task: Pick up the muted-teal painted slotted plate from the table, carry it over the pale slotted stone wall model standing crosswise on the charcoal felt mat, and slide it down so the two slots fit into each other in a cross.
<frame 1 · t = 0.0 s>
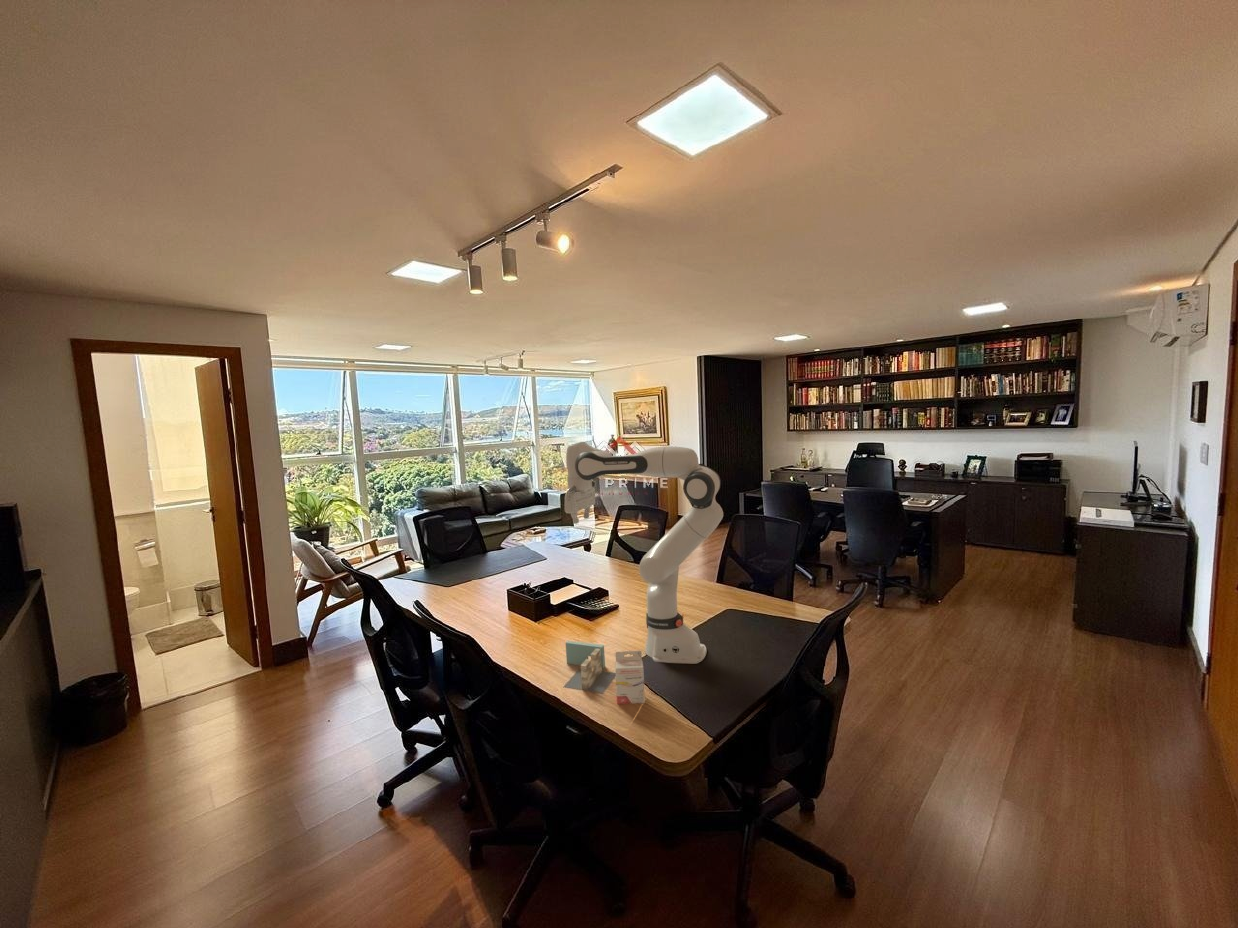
hand: (581, 520, 189), 48 cm above the table, fingers open, 8 cm apart
felt mat: (590, 681, 164), on the table
stone wall model: (592, 680, 163), resting on felt mat
teal plate: (585, 665, 174), on the table
ink cartridge box: (630, 701, 151), on the table
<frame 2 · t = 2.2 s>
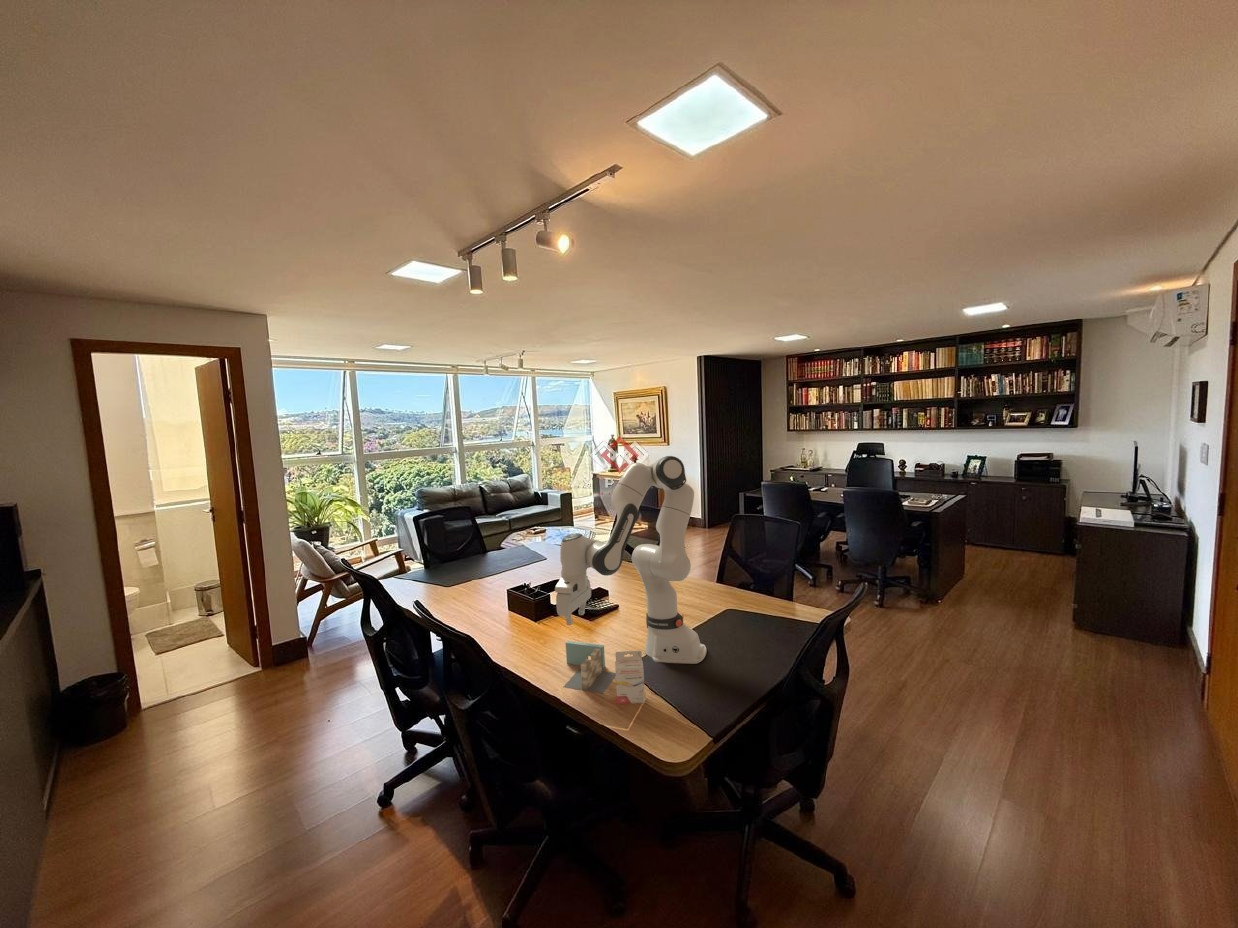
hand: (575, 619, 173), 17 cm above the table, fingers open, 8 cm apart
nothing on the table moved.
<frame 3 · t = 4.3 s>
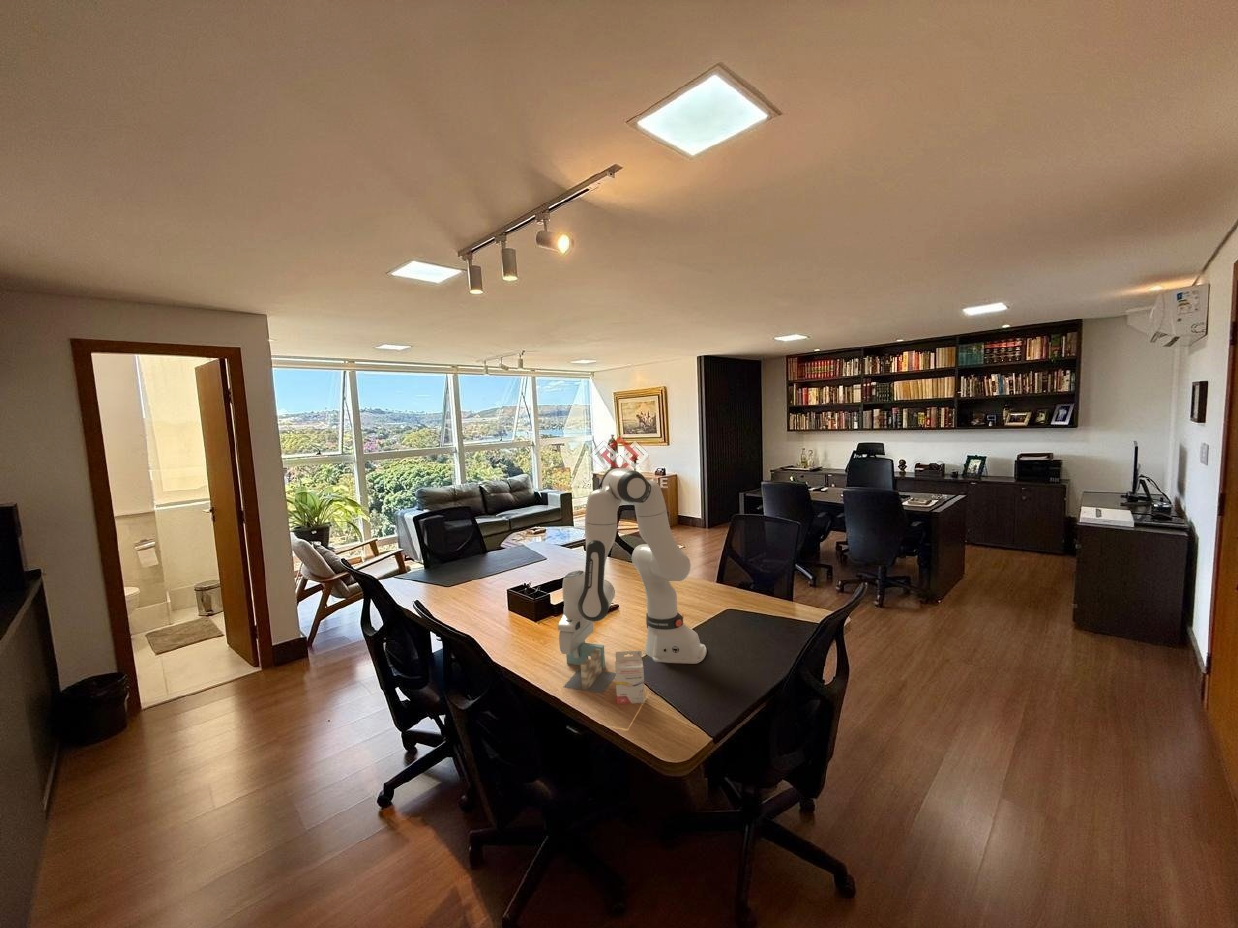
hand: (578, 655, 175), 4 cm above the table, fingers closed on teal plate, 2 cm apart
teal plate: (585, 665, 174), on the table, touching gripper
everything else where it was.
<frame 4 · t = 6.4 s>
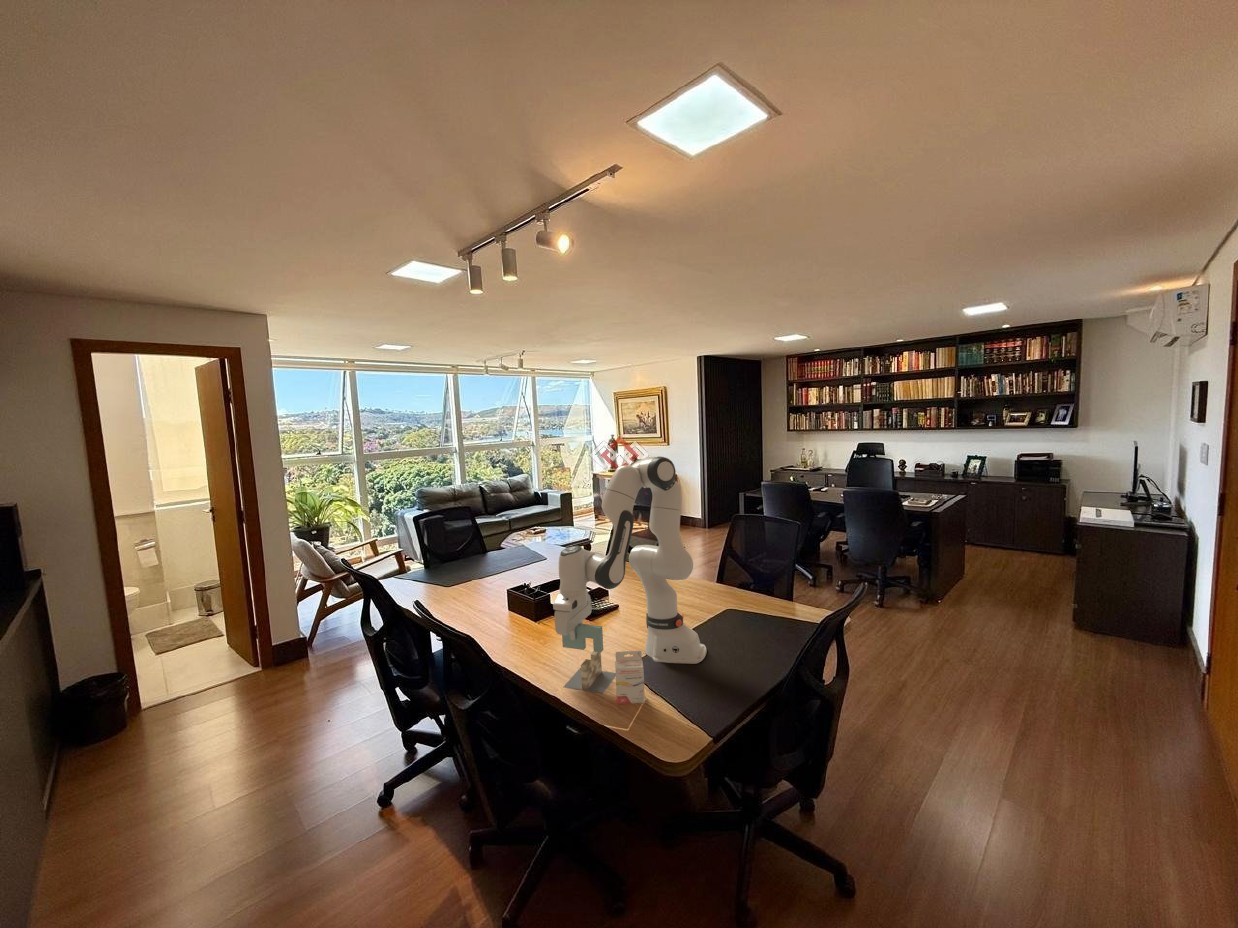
hand: (575, 637, 164), 15 cm above the table, fingers closed on teal plate
teal plate: (582, 648, 163), point 11 cm above the table, touching gripper
everything else where it was.
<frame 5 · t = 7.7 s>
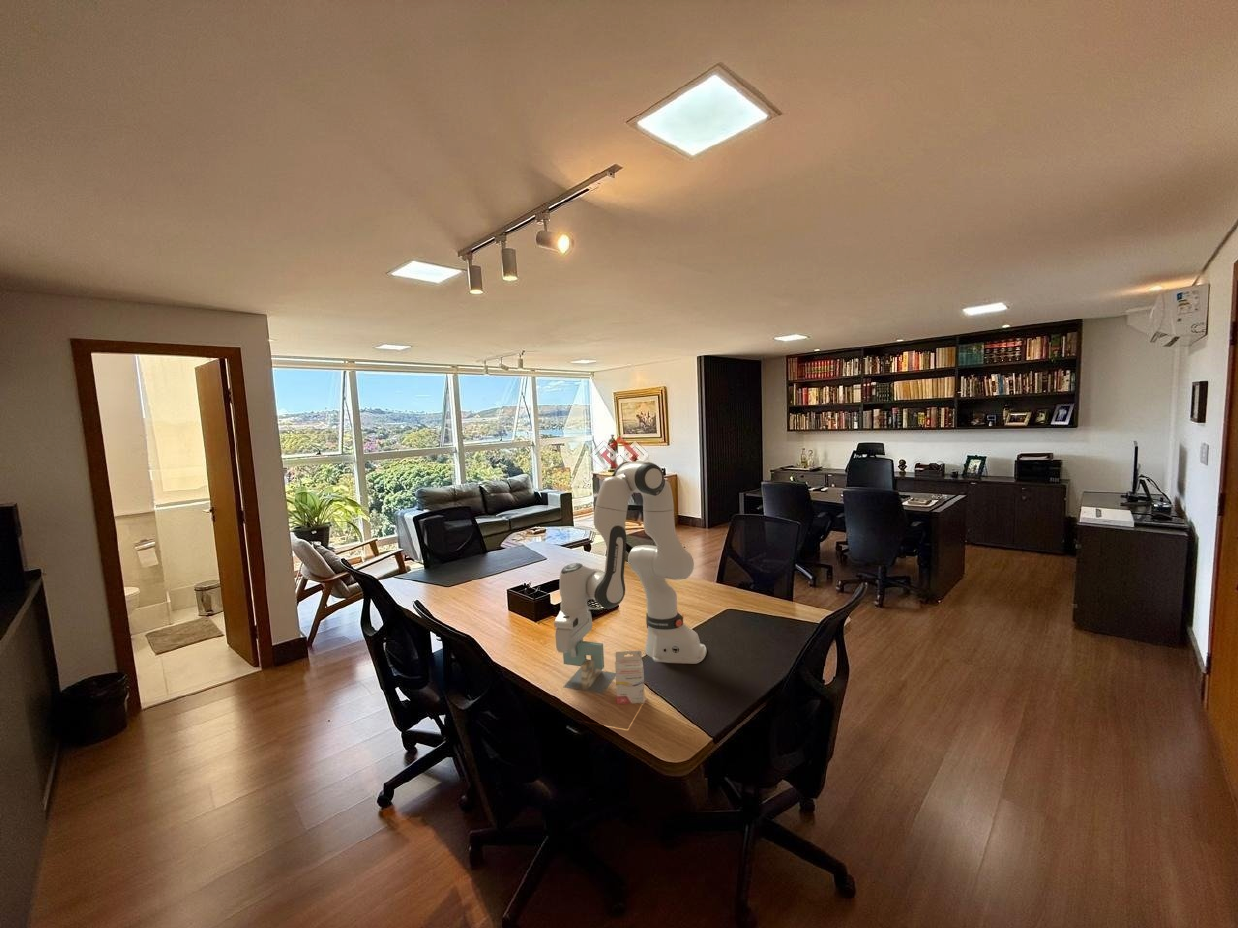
hand: (576, 654, 164), 9 cm above the table, fingers closed on teal plate
teal plate: (583, 665, 164), point 5 cm above the table, touching gripper
everything else where it was.
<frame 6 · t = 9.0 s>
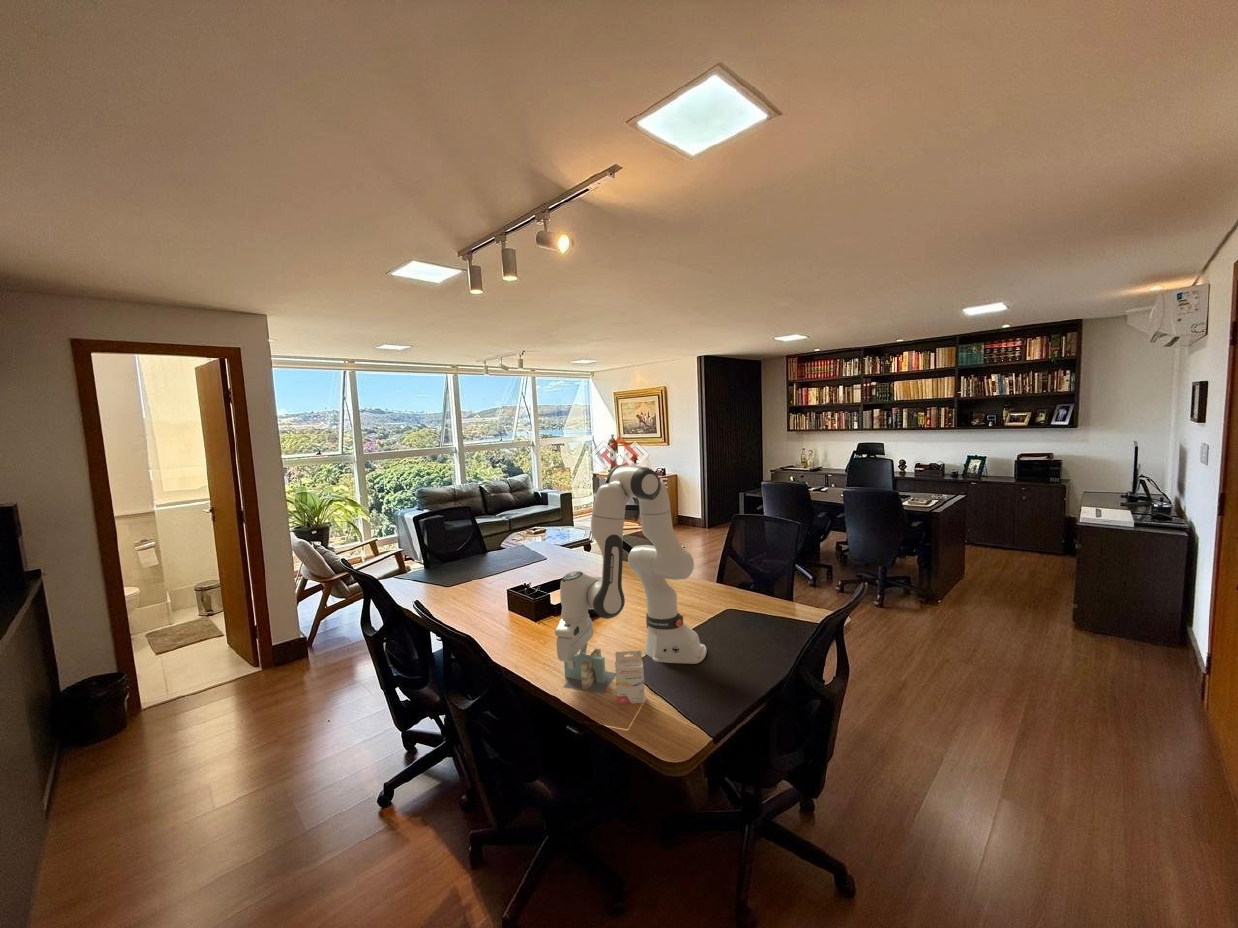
hand: (577, 661, 165), 6 cm above the table, fingers open, 7 cm apart
teal plate: (585, 678, 164), resting on felt mat
everything else where it was.
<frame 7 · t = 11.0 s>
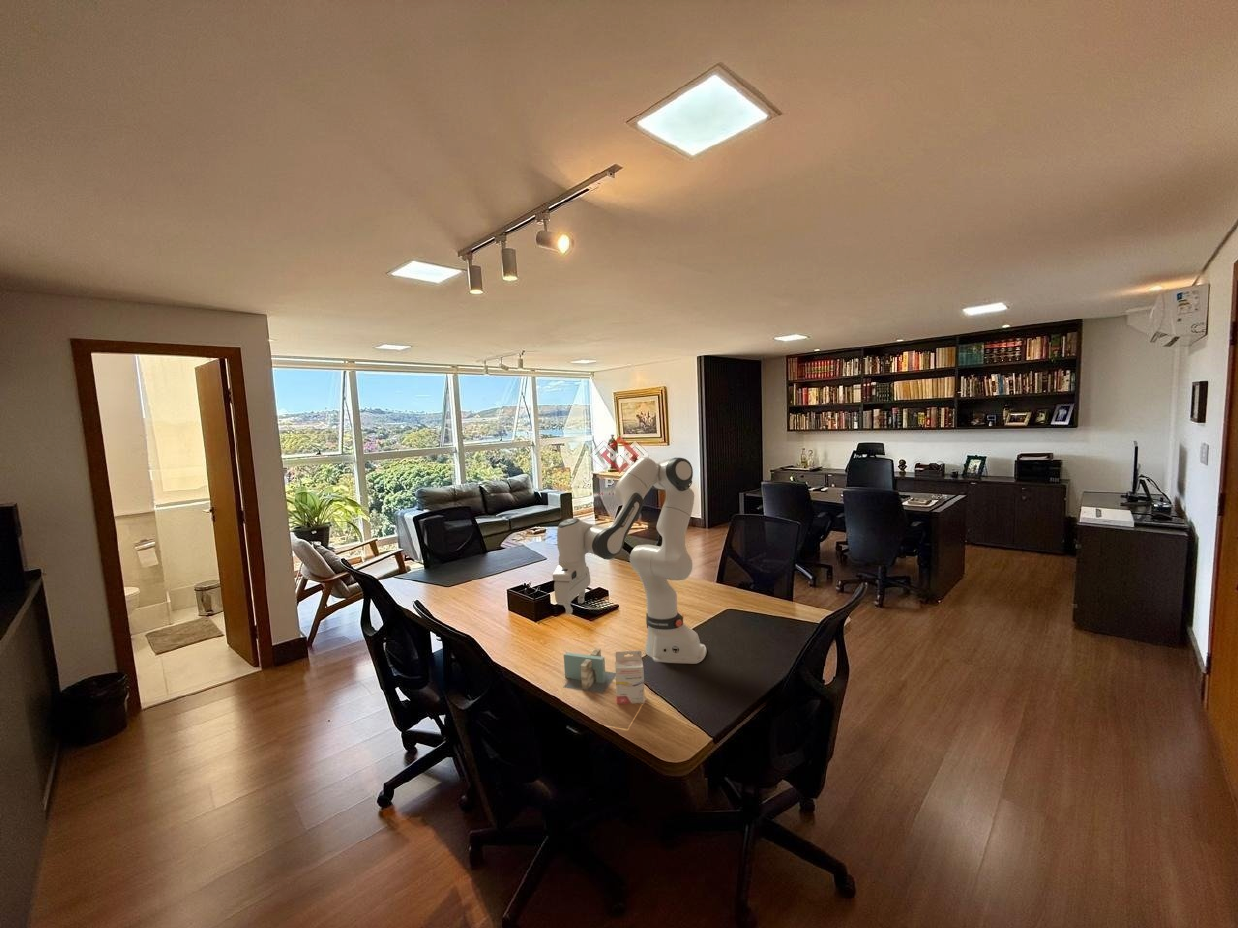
hand: (575, 607, 166), 24 cm above the table, fingers open, 8 cm apart
nothing on the table moved.
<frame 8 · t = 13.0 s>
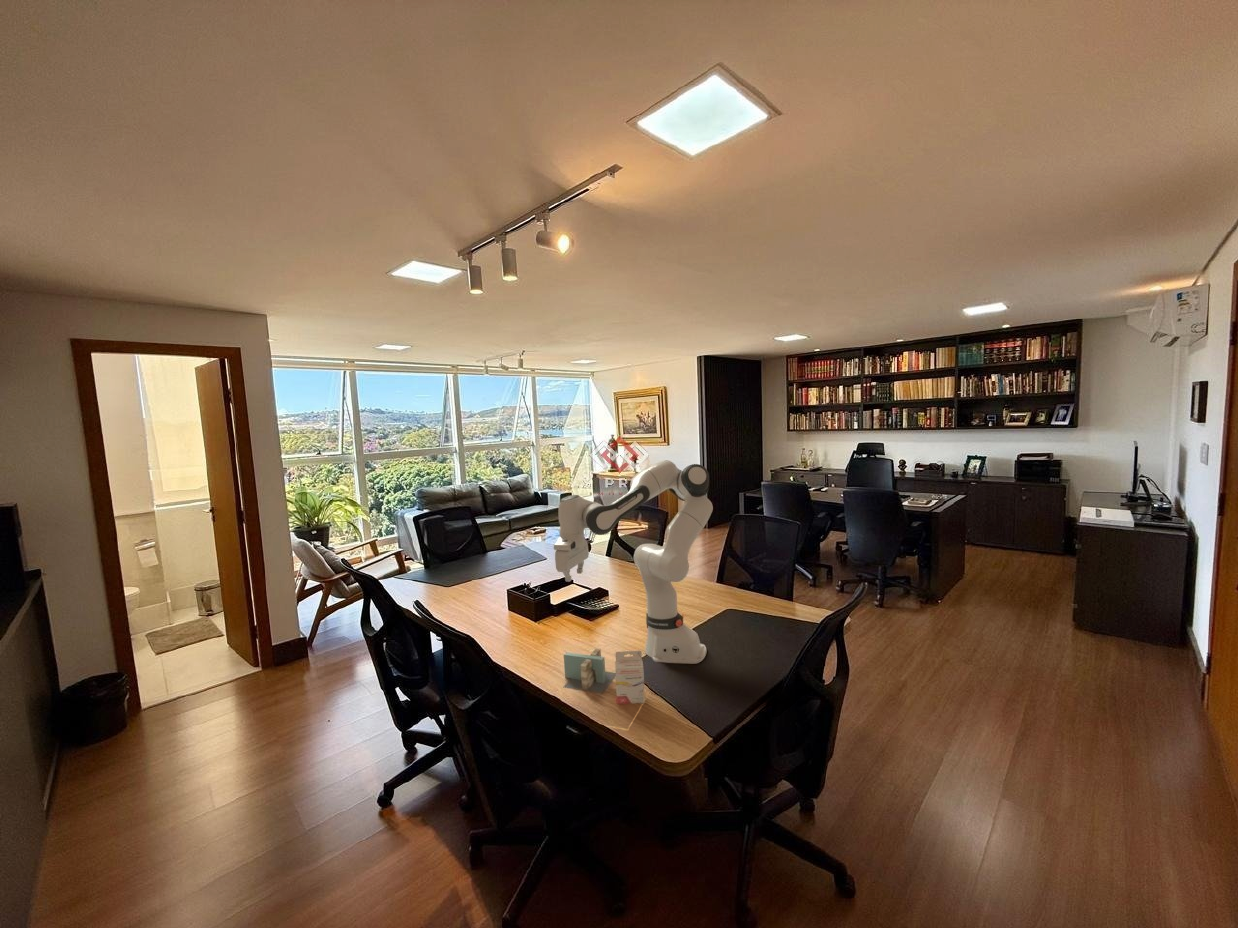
hand: (574, 576, 181), 29 cm above the table, fingers open, 8 cm apart
nothing on the table moved.
at the end: teal plate 0.1 cm from the target spot on the table beside the stone wall model, resting on felt mat; teal plate tilted 0°; the gripper is holding nothing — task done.
